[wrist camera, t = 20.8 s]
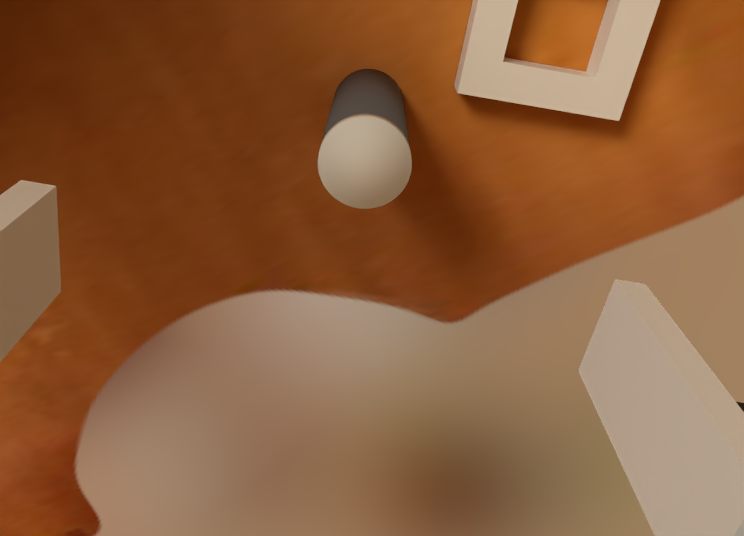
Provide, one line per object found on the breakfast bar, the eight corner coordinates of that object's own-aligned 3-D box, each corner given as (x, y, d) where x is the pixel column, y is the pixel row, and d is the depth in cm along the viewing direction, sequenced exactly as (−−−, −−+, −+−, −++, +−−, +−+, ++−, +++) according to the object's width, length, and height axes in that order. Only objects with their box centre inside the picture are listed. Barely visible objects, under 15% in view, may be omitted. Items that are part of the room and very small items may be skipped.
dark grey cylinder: (329, 133, 42) (312, 201, 31) (338, 63, 40) (324, 110, 29) (396, 144, 42) (402, 215, 31) (409, 75, 40) (420, 126, 29)
